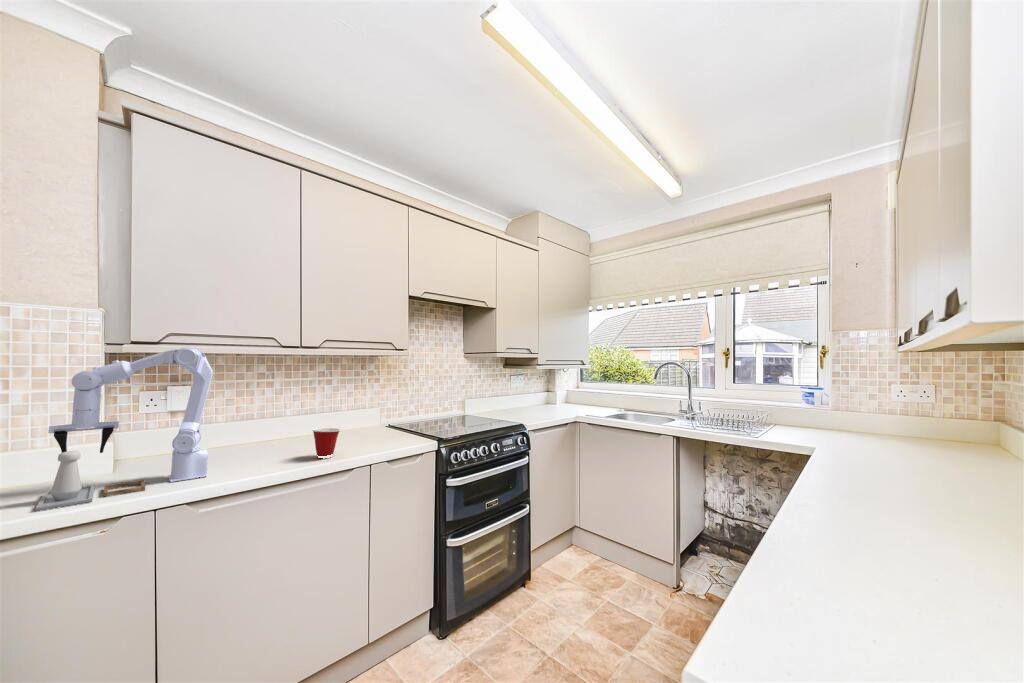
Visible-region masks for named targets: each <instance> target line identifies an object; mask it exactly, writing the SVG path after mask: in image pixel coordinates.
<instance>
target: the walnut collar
mask: <svg viewBox="0 0 1024 683" xmlns="http://www.w3.org/2000/svg"><path fill="white" fill-rule="evenodd" d="M140 484H141V485H140ZM133 485H135V487H133ZM126 486H128V487H129V488H127V487H126ZM119 487H121V488H123V489H120V488H119ZM125 487H126V488H125ZM111 488H115V489H114V490H112V489H111ZM116 489H117V490H116ZM109 490H111V491H109ZM144 491H146V484H145V479H140V480H132V481H127V482H119V483H113V484H105V485H104V488H103V495H102V496H103V498H105V497H104V496H108V497H111V496H110V495H114V496H118V495H117V494H120V495H125V494H131V493H132V492H133V493H137V492H144Z"/></svg>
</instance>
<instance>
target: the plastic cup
mask: <svg viewBox="0 0 1024 683" xmlns="http://www.w3.org/2000/svg"><path fill="white" fill-rule="evenodd" d="M311 430H312V433H313V438H314V443H315V451H316V456H317V455H318V456H327V455H331V454H333V455H334V452H335V448H336V445H337V440H338V435H339V433H340V431H341V428H336V427H335V428H334V427H322V428H321V427H319V428H313V429H311Z"/></svg>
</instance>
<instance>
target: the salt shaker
mask: <svg viewBox="0 0 1024 683" xmlns="http://www.w3.org/2000/svg"><path fill="white" fill-rule="evenodd" d="M80 459H81V452H80V451H78V450H67V452H63V453H62V452H61V453H59V454H58V456H57V461H58V462H60V463H59V465H58V468H57V472H56V476H55V478H54V481H53V485H52V486H51V490H50V491H51V495H52V496H53V498H54V500H57V501H62V500H68V499H72V498H75V497H77V496H78V494H79V492H80V490H81V488H82V487H83V486H82V481H81V477H80V471H79V465H78V460H80Z"/></svg>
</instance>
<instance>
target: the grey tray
mask: <svg viewBox="0 0 1024 683" xmlns="http://www.w3.org/2000/svg"><path fill="white" fill-rule="evenodd" d="M95 487H96V485H95V484H90V485H89V484H88V485H84V486H82V488H81V490H80V492H79V494H78V496H77V497H75V498H72V499H68V500H62V501H57V500H54V498H53V496H52V495H51V490H50V491H49V490H48V491H44V492H43V494H42V496H41V498H40V500H39V502H38V503H37V505H36V507H35V512H36V511H37V512H41V511H40V510H43V511H48V510H47V509H49V510H54V509H53V508H55V509H59V508H58V507H61V508H65V507H64V506H68V507H72V506H71V505H74V506H78V505H77V504H80V505H83V504H82V503H86V504H90V503H89V502H93V498H94V494H95V490H94V489H96V488H95Z"/></svg>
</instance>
